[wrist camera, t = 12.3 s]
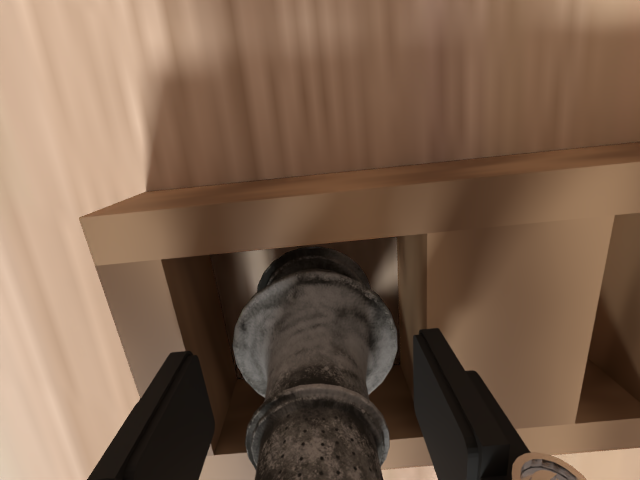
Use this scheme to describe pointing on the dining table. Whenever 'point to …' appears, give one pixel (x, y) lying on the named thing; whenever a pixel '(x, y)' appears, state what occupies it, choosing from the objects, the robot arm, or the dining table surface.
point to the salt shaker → (316, 369)
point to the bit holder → (413, 286)
